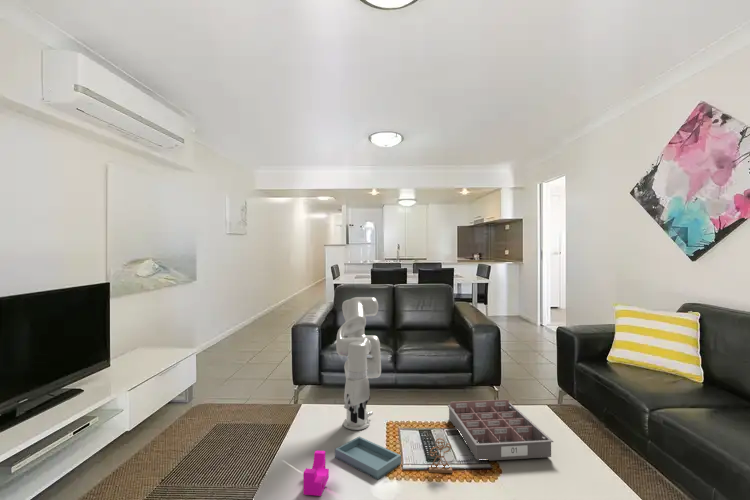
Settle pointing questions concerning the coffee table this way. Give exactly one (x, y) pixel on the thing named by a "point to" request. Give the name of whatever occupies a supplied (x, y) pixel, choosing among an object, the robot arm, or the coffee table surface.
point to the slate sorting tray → (368, 457)
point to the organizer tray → (498, 430)
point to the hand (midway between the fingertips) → (357, 419)
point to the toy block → (316, 476)
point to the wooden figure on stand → (437, 469)
